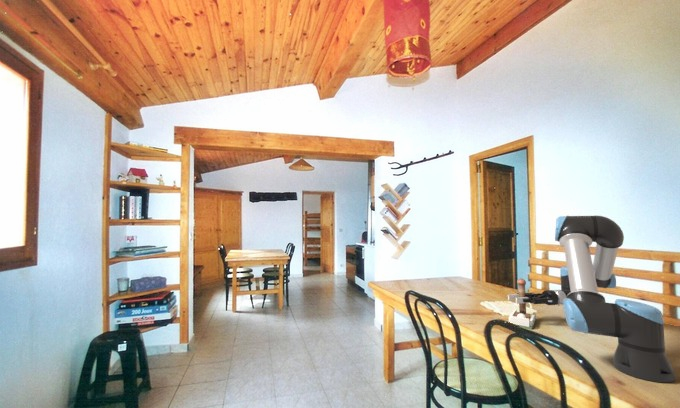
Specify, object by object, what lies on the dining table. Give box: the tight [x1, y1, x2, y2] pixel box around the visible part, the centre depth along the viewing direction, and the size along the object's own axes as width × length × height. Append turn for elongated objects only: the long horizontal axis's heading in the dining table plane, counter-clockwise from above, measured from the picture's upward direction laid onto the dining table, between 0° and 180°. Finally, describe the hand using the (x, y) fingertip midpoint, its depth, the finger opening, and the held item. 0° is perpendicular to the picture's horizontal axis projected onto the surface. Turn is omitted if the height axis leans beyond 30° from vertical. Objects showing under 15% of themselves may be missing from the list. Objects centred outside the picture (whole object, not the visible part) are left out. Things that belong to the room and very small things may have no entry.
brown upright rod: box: [515, 278, 531, 321], centre depth 158 cm, size 5×7×21 cm
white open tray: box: [508, 308, 537, 330], centre depth 156 cm, size 20×10×4 cm, turn 142°
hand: (512, 299), depth 156 cm, fingers open, 5 cm apart
